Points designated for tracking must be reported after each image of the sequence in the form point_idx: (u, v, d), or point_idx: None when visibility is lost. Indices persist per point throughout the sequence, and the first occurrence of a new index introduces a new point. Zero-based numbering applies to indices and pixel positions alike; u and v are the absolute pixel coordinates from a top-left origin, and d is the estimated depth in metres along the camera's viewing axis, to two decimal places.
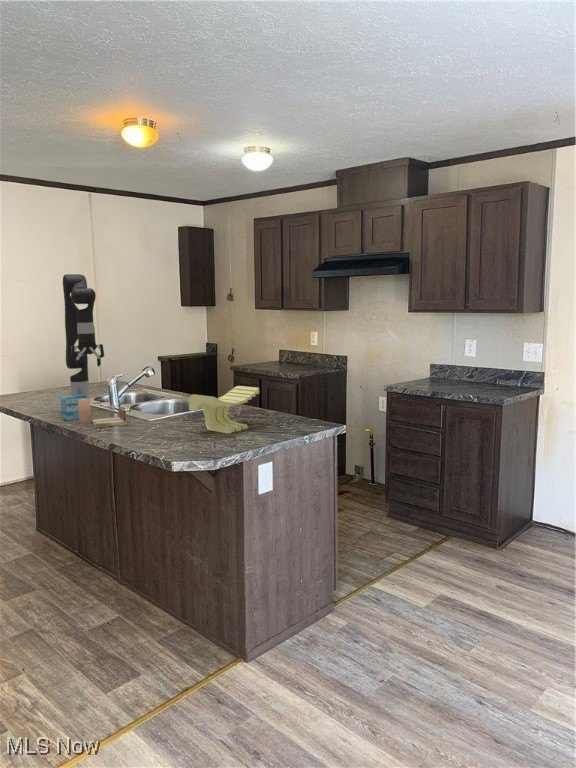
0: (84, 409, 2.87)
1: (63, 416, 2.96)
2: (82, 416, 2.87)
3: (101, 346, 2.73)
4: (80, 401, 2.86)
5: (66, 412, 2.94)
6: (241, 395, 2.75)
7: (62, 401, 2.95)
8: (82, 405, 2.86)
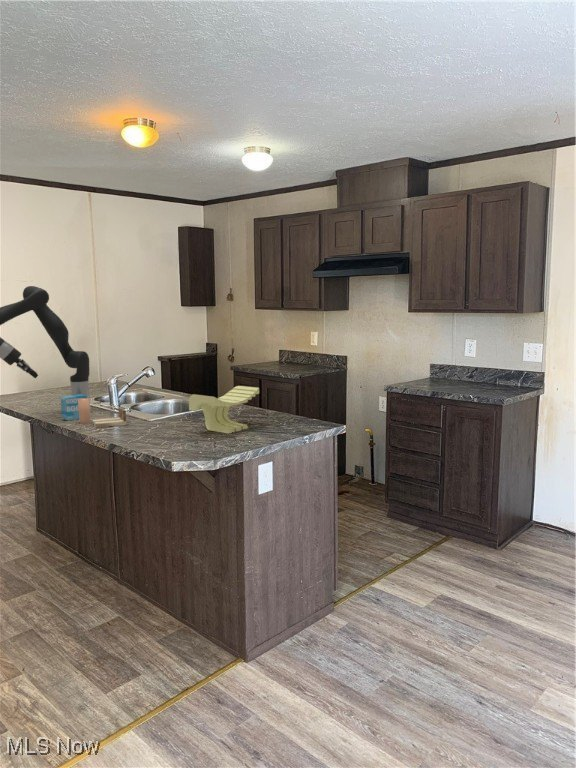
0: (84, 409, 2.87)
1: (63, 416, 2.96)
2: (82, 416, 2.87)
3: (18, 365, 2.70)
4: (80, 401, 2.86)
5: (66, 412, 2.94)
6: (241, 395, 2.75)
7: (62, 401, 2.95)
8: (82, 405, 2.86)
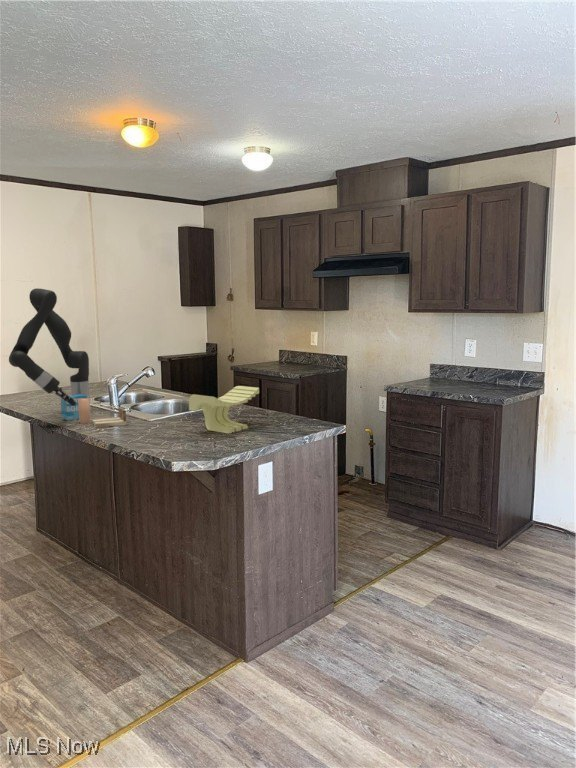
0: (84, 409, 2.87)
1: (63, 416, 2.96)
2: (82, 416, 2.87)
3: (57, 394, 2.77)
4: (80, 401, 2.86)
5: (65, 412, 2.94)
6: (241, 395, 2.75)
7: (62, 401, 2.95)
8: (82, 405, 2.86)
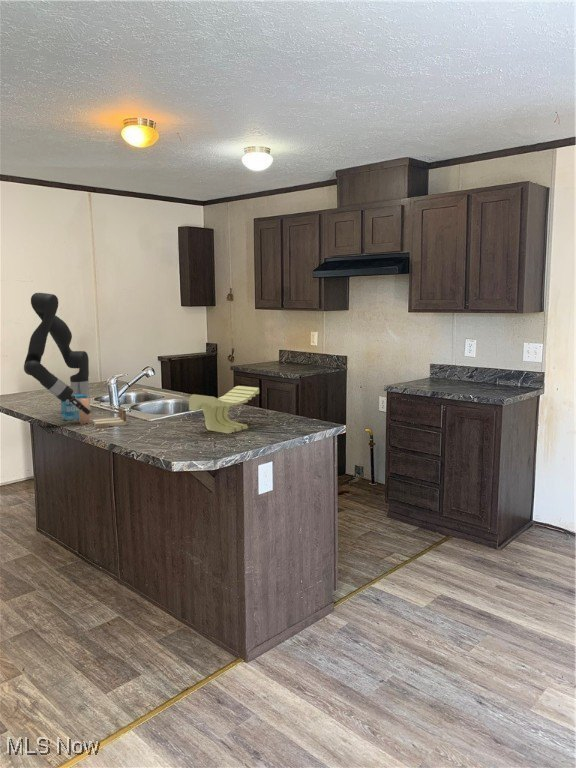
0: None
1: (63, 416, 2.96)
2: (82, 416, 2.87)
3: (73, 404, 2.81)
4: (80, 401, 2.86)
5: (66, 412, 2.94)
6: (241, 395, 2.75)
7: None
8: None
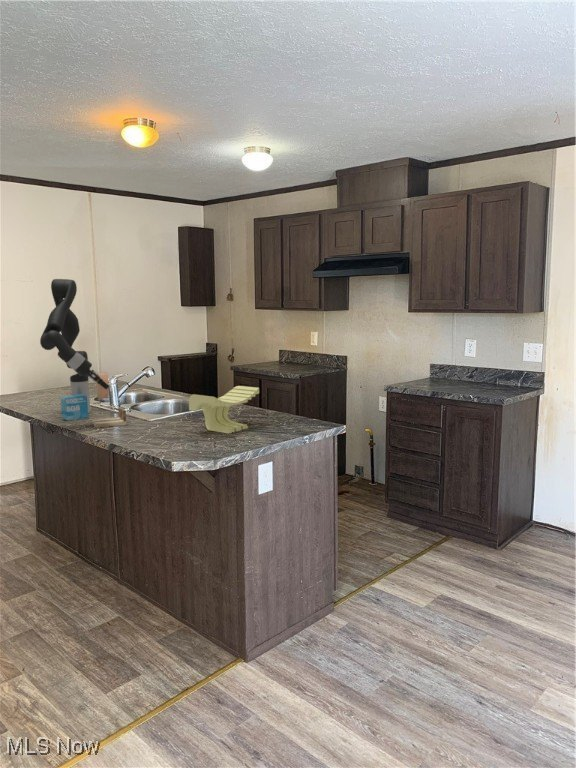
0: None
1: (63, 416, 2.96)
2: (101, 391, 2.81)
3: (91, 377, 2.74)
4: None
5: (66, 412, 2.94)
6: (241, 395, 2.75)
7: (62, 401, 2.95)
8: None
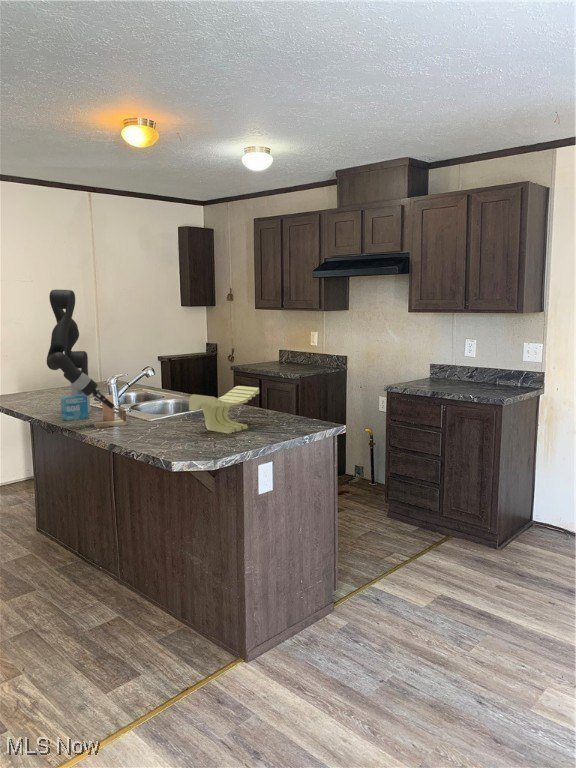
0: None
1: (63, 416, 2.96)
2: (106, 413, 2.82)
3: (96, 397, 2.75)
4: None
5: (66, 412, 2.94)
6: (241, 395, 2.75)
7: (62, 401, 2.95)
8: None
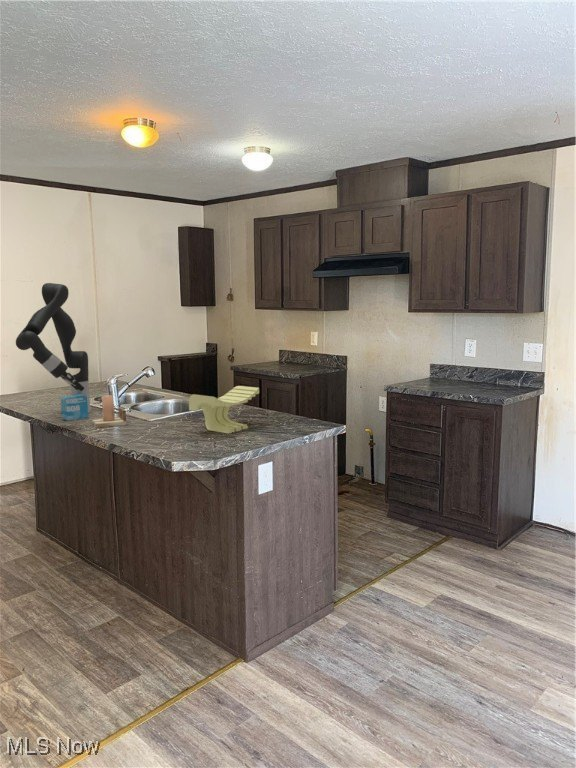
0: (108, 406, 2.82)
1: (63, 416, 2.96)
2: (106, 413, 2.82)
3: (66, 378, 2.69)
4: (104, 398, 2.81)
5: (66, 412, 2.94)
6: (241, 395, 2.75)
7: (62, 401, 2.95)
8: (106, 402, 2.81)
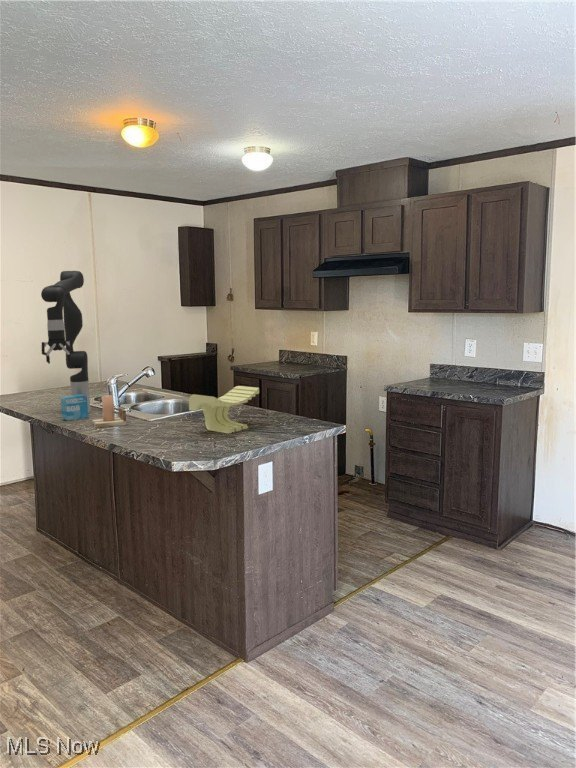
0: (108, 406, 2.82)
1: (63, 416, 2.96)
2: (106, 413, 2.82)
3: (70, 342, 2.84)
4: (104, 398, 2.81)
5: (66, 412, 2.94)
6: (241, 395, 2.75)
7: (62, 401, 2.95)
8: (106, 402, 2.81)
